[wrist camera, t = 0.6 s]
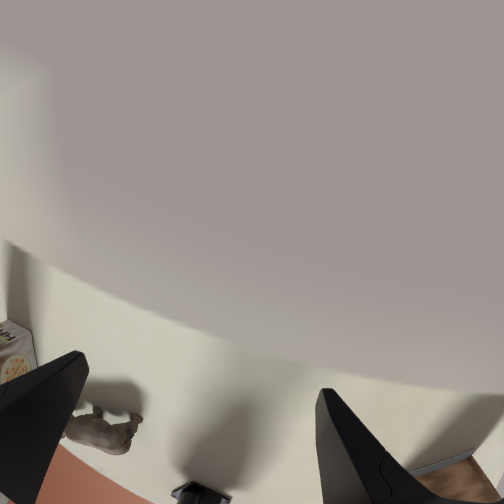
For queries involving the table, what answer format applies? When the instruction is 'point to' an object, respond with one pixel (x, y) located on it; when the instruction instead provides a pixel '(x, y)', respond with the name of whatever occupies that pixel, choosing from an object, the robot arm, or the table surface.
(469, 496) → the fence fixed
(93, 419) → the rhino figurine
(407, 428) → the table surface
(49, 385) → the robot arm
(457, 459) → the card
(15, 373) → the coffee box
